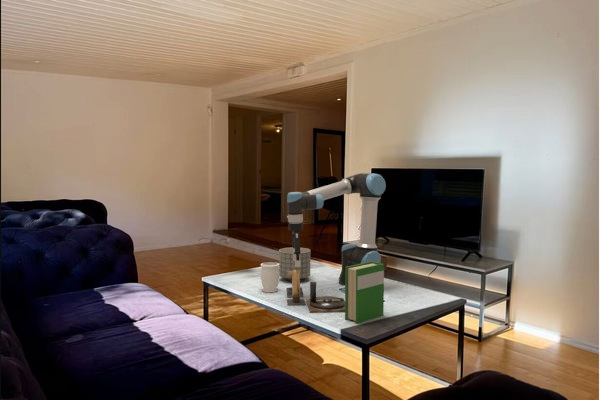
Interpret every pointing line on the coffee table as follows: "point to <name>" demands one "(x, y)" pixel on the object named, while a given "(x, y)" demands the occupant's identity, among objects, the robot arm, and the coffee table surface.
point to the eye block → (289, 292)
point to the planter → (289, 265)
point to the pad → (302, 302)
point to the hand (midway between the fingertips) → (296, 263)
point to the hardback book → (364, 291)
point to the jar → (270, 276)
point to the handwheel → (324, 300)
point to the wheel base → (319, 310)
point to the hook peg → (295, 285)
